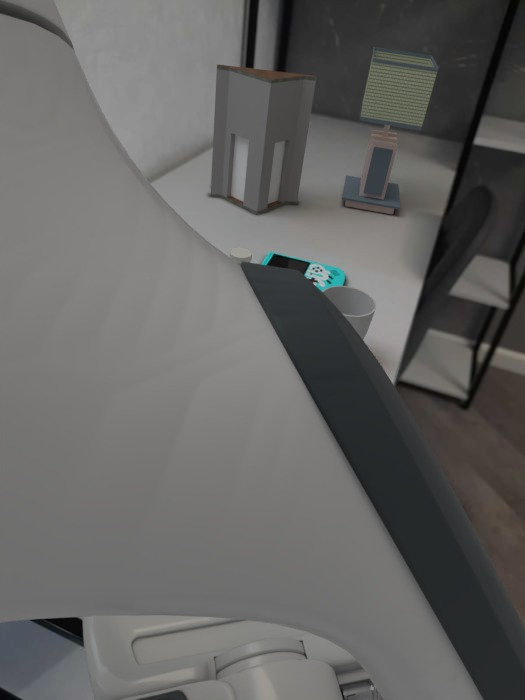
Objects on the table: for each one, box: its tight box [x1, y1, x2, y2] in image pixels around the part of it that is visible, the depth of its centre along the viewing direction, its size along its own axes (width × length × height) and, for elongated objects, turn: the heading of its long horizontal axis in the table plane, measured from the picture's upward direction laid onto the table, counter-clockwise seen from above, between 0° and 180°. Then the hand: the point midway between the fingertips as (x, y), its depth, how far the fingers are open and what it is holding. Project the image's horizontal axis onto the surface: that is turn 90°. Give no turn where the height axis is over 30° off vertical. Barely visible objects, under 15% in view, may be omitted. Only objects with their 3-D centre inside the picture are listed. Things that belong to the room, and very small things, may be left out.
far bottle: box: [229, 246, 253, 265], centre depth 78 cm, size 6×6×13 cm
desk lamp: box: [341, 46, 439, 215], centre depth 124 cm, size 18×14×33 cm
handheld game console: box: [260, 251, 346, 291], centre depth 98 cm, size 10×16×1 cm, turn 73°
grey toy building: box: [210, 63, 317, 215], centre depth 114 cm, size 21×10×28 cm, turn 92°
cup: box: [322, 285, 377, 340], centre depth 77 cm, size 8×8×10 cm
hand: (227, 513), depth 39 cm, fingers open, 8 cm apart
